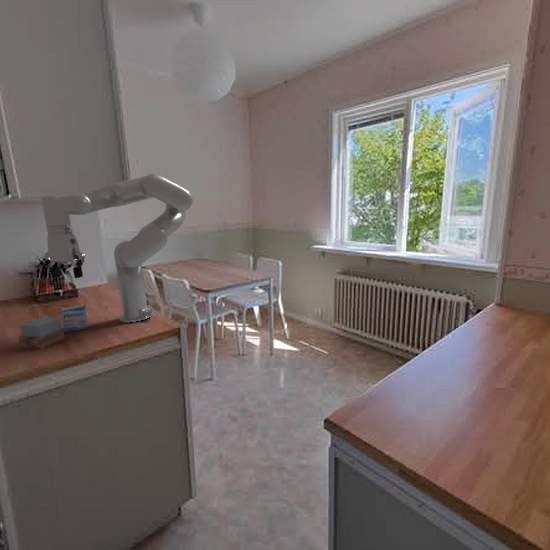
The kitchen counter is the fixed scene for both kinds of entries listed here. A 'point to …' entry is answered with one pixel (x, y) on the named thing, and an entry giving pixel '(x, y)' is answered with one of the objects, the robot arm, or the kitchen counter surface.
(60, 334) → the walnut slab
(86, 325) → the medicine box
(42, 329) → the grey slab
